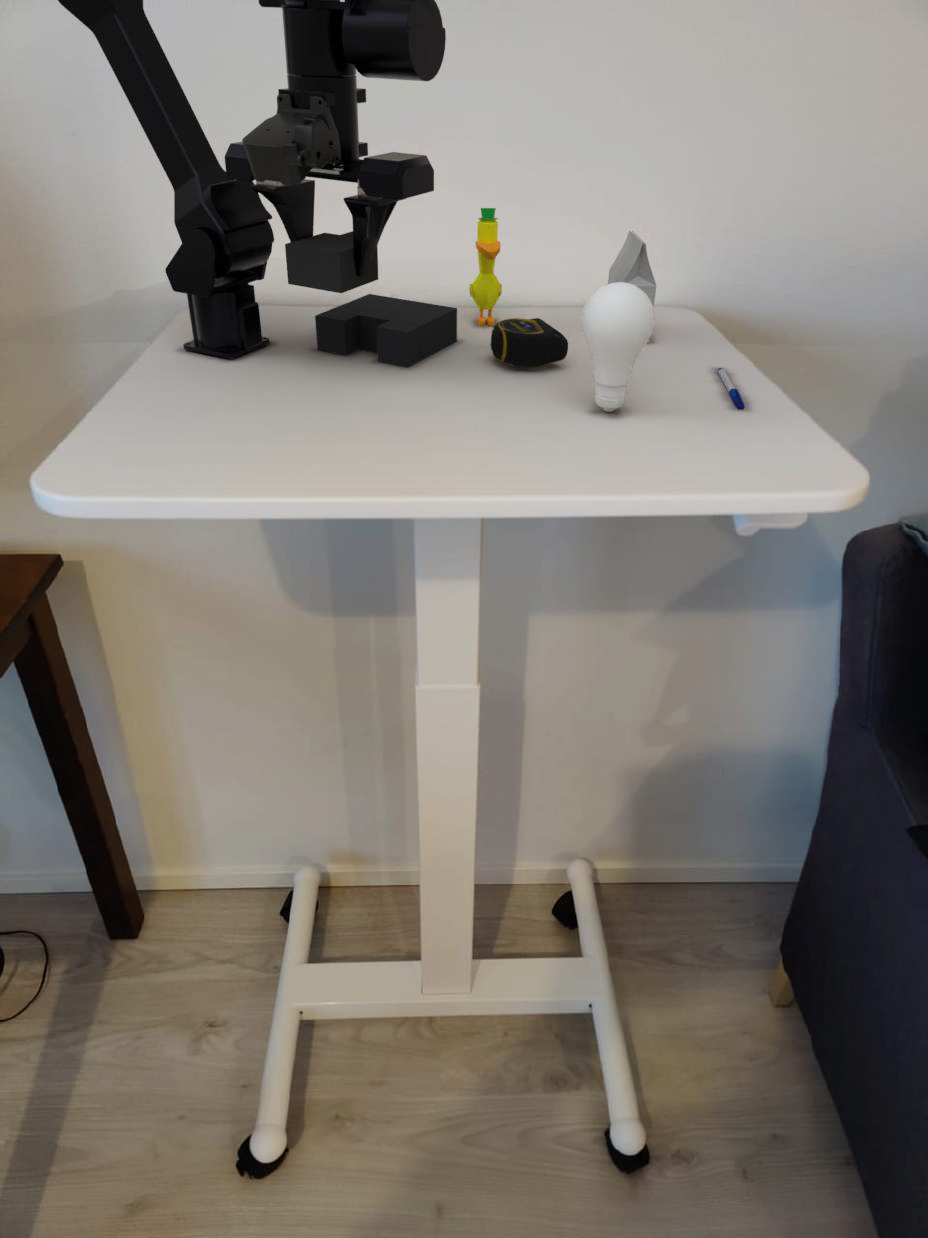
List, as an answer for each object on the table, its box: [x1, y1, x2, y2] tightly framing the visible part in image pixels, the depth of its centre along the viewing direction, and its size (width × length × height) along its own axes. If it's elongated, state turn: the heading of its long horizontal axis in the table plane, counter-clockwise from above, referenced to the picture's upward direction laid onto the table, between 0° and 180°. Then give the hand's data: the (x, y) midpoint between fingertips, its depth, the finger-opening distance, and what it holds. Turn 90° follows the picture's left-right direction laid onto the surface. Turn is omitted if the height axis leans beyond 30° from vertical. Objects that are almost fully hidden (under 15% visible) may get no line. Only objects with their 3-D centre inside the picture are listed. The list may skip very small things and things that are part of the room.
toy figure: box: [468, 207, 503, 327], centre depth 101 cm, size 7×4×12 cm, turn 5°
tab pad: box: [284, 230, 379, 294], centre depth 85 cm, size 6×8×4 cm
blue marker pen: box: [717, 367, 745, 410], centre depth 87 cm, size 10×1×1 cm, turn 179°
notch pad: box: [314, 293, 458, 368], centre depth 96 cm, size 11×10×4 cm
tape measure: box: [490, 317, 569, 368], centre depth 92 cm, size 7×7×4 cm
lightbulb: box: [580, 282, 656, 413], centre depth 79 cm, size 6×6×11 cm
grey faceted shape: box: [607, 230, 657, 344], centre depth 99 cm, size 4×7×10 cm, turn 3°
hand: (332, 270), depth 85 cm, fingers closed on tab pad, 6 cm apart
